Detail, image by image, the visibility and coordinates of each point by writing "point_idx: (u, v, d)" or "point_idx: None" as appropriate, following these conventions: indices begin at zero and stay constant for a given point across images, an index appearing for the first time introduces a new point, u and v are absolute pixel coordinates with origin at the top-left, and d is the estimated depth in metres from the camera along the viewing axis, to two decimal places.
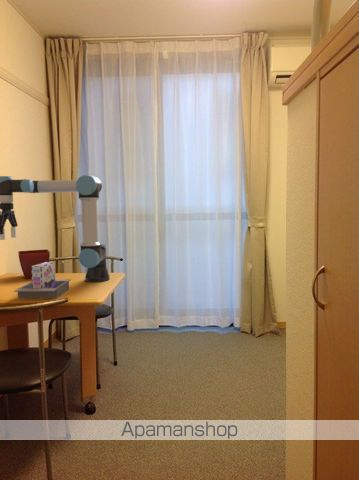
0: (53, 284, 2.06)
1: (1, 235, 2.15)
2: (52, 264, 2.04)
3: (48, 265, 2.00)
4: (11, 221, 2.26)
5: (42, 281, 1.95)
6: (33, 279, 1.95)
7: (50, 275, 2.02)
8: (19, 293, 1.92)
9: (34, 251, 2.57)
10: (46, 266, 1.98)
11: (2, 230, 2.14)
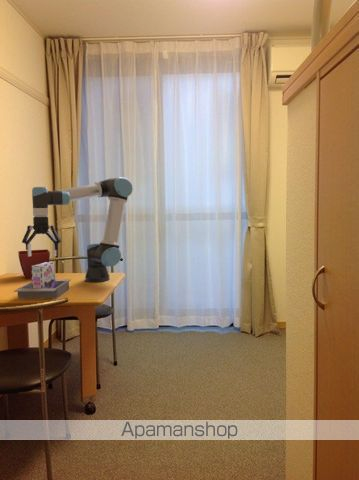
0: (53, 284, 2.06)
1: None
2: (52, 264, 2.04)
3: (48, 265, 2.00)
4: None
5: (42, 281, 1.95)
6: (33, 279, 1.95)
7: (50, 275, 2.02)
8: (19, 293, 1.92)
9: (34, 251, 2.57)
10: (46, 266, 1.98)
11: (26, 246, 1.99)
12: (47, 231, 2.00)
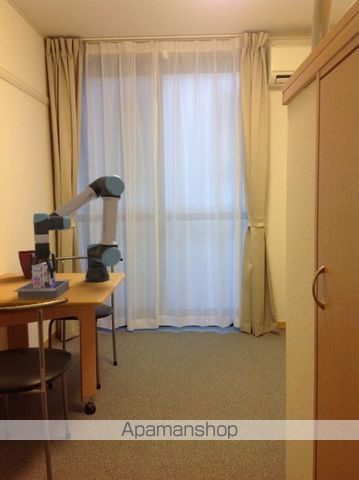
0: (53, 284, 2.06)
1: None
2: None
3: None
4: None
5: (42, 281, 1.95)
6: (33, 279, 1.95)
7: None
8: (19, 293, 1.92)
9: (34, 251, 2.57)
10: (46, 266, 1.98)
11: None
12: None
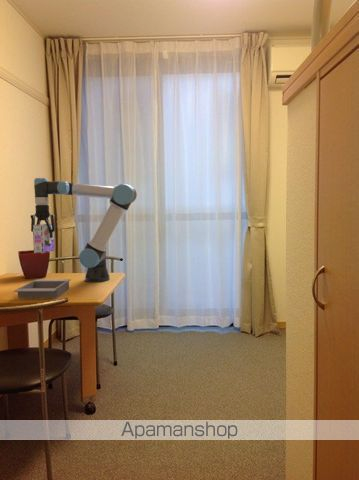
0: (52, 244, 2.26)
1: None
2: (51, 225, 2.25)
3: None
4: None
5: (42, 239, 2.16)
6: (34, 237, 2.15)
7: None
8: (19, 293, 1.92)
9: None
10: (46, 226, 2.19)
11: None
12: None
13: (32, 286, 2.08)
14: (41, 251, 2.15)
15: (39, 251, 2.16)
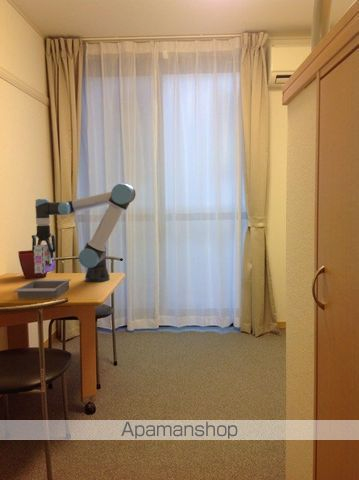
0: (53, 263, 2.28)
1: None
2: None
3: None
4: None
5: (43, 259, 2.17)
6: (35, 258, 2.17)
7: None
8: (19, 293, 1.92)
9: None
10: (47, 246, 2.21)
11: None
12: None
13: (32, 286, 2.08)
14: (42, 272, 2.17)
15: (40, 271, 2.17)
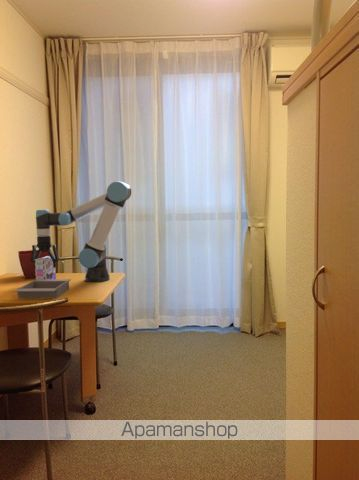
0: (54, 276, 2.29)
1: None
2: None
3: (49, 259, 2.23)
4: None
5: (44, 272, 2.18)
6: (36, 271, 2.18)
7: (51, 267, 2.25)
8: (19, 293, 1.92)
9: None
10: (48, 259, 2.21)
11: (34, 264, 2.23)
12: (49, 249, 2.24)
13: (32, 286, 2.08)
14: None
15: None
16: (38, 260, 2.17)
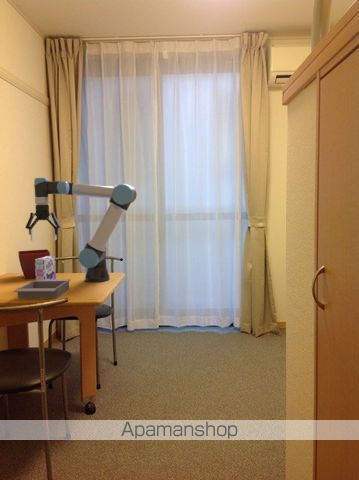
0: (54, 276, 2.29)
1: None
2: (53, 258, 2.28)
3: (49, 259, 2.23)
4: None
5: (44, 272, 2.18)
6: (36, 271, 2.18)
7: (51, 267, 2.25)
8: (19, 293, 1.92)
9: (34, 251, 2.57)
10: (48, 259, 2.21)
11: (30, 231, 2.21)
12: (48, 218, 2.22)
13: (32, 286, 2.08)
14: None
15: None
16: (38, 260, 2.17)
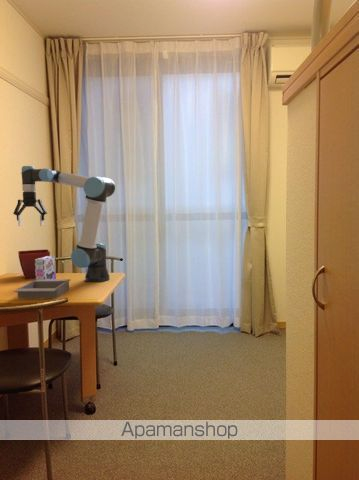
0: (54, 276, 2.29)
1: None
2: (53, 258, 2.28)
3: (49, 259, 2.23)
4: None
5: (44, 272, 2.18)
6: (36, 271, 2.18)
7: (51, 267, 2.25)
8: (19, 293, 1.92)
9: (34, 251, 2.57)
10: (48, 259, 2.21)
11: (17, 217, 2.32)
12: (35, 204, 2.33)
13: (32, 286, 2.08)
14: None
15: None
16: (38, 260, 2.17)
